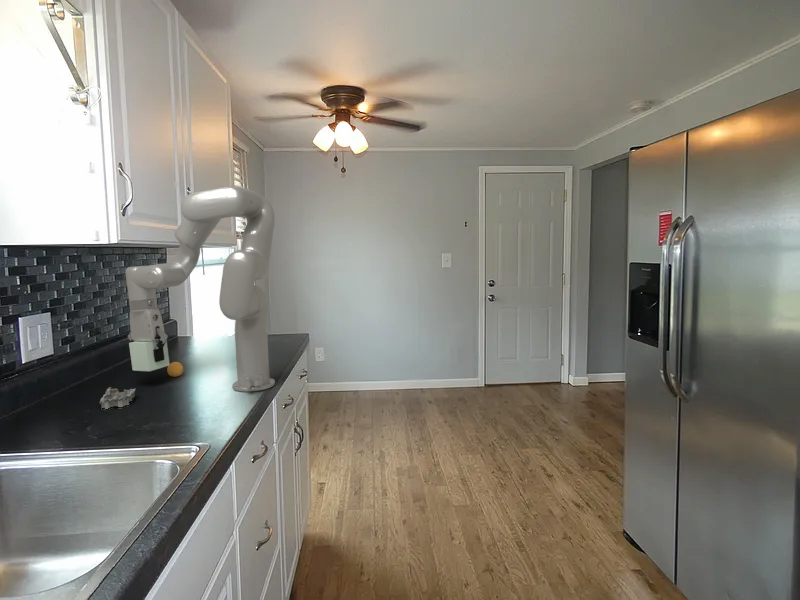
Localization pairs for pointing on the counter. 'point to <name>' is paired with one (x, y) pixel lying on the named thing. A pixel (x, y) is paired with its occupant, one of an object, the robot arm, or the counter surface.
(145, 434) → the counter surface
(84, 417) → the counter surface
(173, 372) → the ball
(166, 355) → the pale green cube
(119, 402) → the egg carton
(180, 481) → the counter surface
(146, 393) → the counter surface
